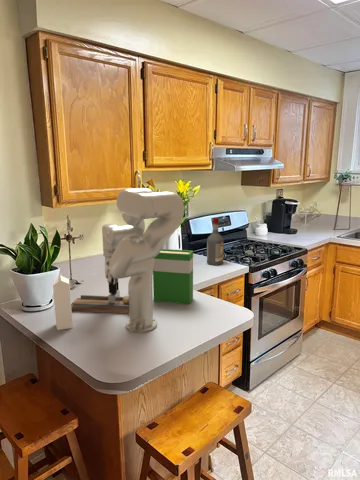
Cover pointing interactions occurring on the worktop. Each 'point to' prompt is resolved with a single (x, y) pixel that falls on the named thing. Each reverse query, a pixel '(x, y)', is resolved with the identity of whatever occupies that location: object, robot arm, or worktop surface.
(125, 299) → the walnut
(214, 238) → the liquor
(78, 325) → the worktop surface
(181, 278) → the hardback book
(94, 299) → the press base
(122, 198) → the robot arm
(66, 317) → the milk
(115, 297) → the press jaw
